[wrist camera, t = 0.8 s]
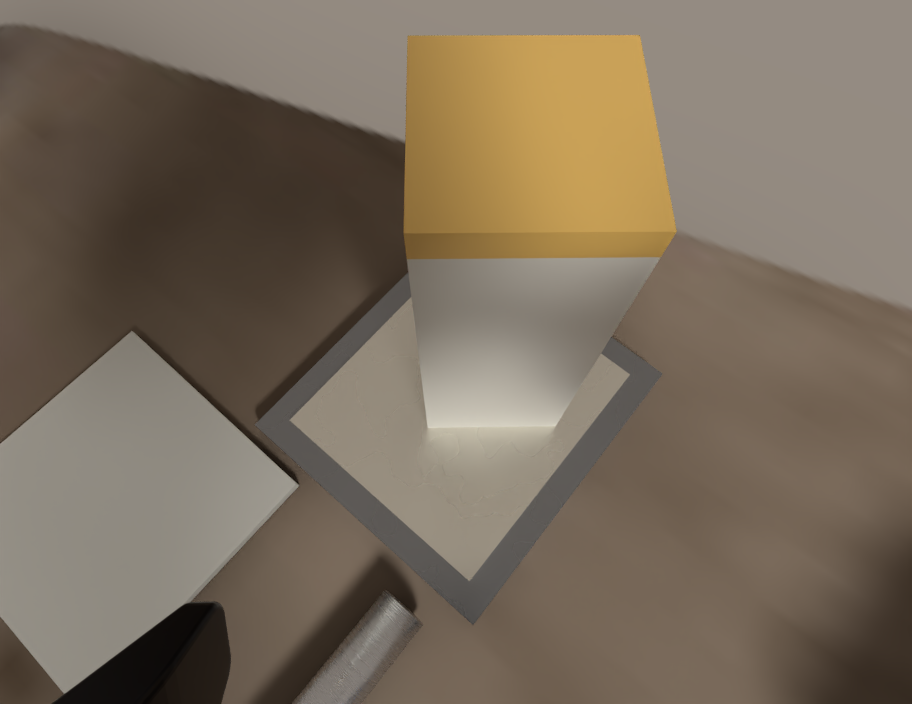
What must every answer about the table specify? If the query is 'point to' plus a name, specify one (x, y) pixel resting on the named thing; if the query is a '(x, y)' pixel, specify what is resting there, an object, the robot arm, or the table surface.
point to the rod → (363, 654)
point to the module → (526, 216)
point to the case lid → (121, 509)
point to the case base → (444, 454)
